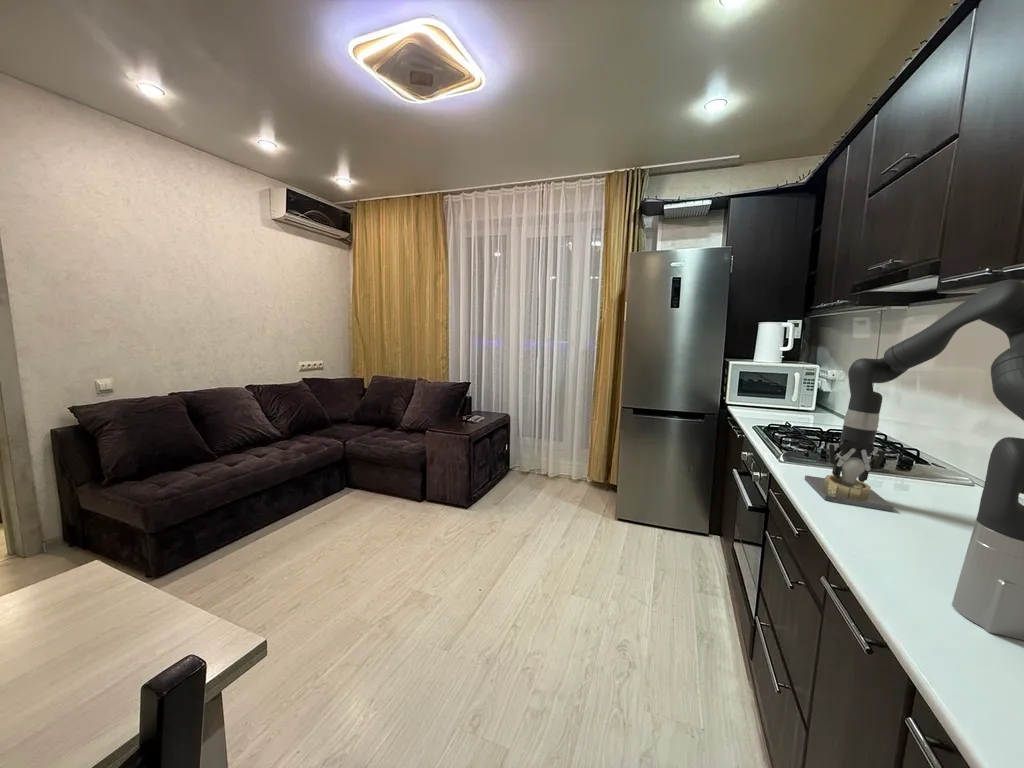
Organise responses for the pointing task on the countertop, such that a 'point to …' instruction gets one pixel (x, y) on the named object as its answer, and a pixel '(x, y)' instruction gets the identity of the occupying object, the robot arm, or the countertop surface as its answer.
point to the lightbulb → (852, 470)
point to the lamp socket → (847, 492)
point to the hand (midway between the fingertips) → (848, 478)
